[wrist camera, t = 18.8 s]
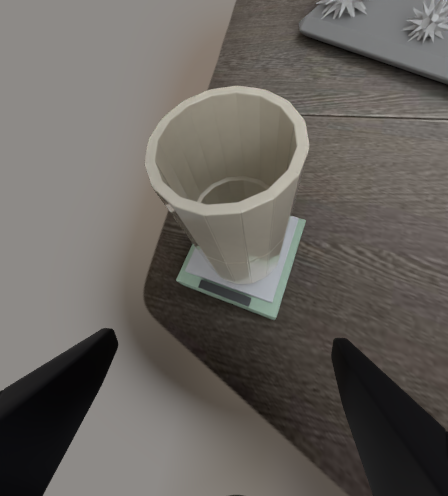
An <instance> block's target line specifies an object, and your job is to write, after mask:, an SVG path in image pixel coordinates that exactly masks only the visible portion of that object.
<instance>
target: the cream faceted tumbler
mask: <svg viewBox="0 0 448 496" xmlns="http://www.w3.org/2000/svg"><path fill="white" fill-rule="evenodd" d="M309 147H310V146H309V140H308V134H307V128H306V122H305V120H304V119H303V118H302V116H301V115H300V114H299V113H298V111H297V110H296V109H295V108H294V107H293V105H292V104H291V103H290V102H289V101H288V100H286V99H284V98H282V97H280V96H278V95H276V94H274V93H272V92H270V91H268V90H265V89H259V88H252V87H245V86H231V87H224V88H217V89H210V90H207V91H205V92H203V93H200V94H198V95H196V96H193V97H191V98H189V99H186V100H185V101H182V102H181V103H180V104H179V105H177V106H176V107H175V108H174V109H173V110H171V111H170V112H169V113H168V114H166V115H165V116H164V117H163V118H162V119H161V121H160V122H159V124H158V125H157V127H156V128H155V130H154V132H153V133H152V135H151V136H150V138H149V140H148V144H147V151H146V157H145V168H146V171H147V174H148V176H149V180H150V182H151V185H152V188H153V189H154V190H155V192H156V193H157V195H158V196H159V197H160V199H161V200H162V201H163V203H164V204H165V206H166V207H167V208H168V210H169V211H170V213H171V214H172V215H173V217H174V218H175V220H176V221H177V222H178V224H179V225H180V226H181V228H182V229H183V231H184V232H185V233H186V235H187V236H188V238H189V239H190V240H191V242H192V243H193V244H194V246H195V247H196V249H197V250H198V251H199V253H200V254H201V255H202V257H203V258H204V260H205V261H206V262H207V264H208V265H209V267H210V268H211V269H212V270H213V271H214V272H215V273H216V274H217V275H218V276H219V277H220V278H222V279H224V280H227V281H229V282H232V283H236V284H249V283H254V282H256V281H258V280H261V279H263V278H265V277H267V276H268V275H269V274H270V273H271V272H272V271H273V270H274V269H275V268H276V266H277V265H278V262H279V259H280V257H281V254H282V250H283V247H284V243H285V239H286V235H287V231H288V228H289V224H290V220H291V216H292V213H293V209H294V205H295V201H296V197H297V194H298V190H299V186H300V182H301V178H302V175H303V171H304V167H305V163H306V159H307V156H308V152H309Z"/></svg>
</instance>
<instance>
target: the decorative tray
mask: <svg viewBox="0 0 448 496" xmlns="http://www.w3.org/2000/svg"><path fill="white" fill-rule="evenodd" d="M316 4H319V5H318V6H317V7H316V8H315V9H313V10H312V11H311V12H310V13H309V14H308V15H307V16H305V17H304V18H303V19H302V20H301V21H300V22H299V28H300V32H301V33H302V34H303V35H304V36H307V37H310V38H313V39H316V40H319V41H322V42H325V43H328V44H331V45H334V46H337V47H340V48H342V49H345V50H348V51H351V52H354V53H357V54H360V55H363V56H366V57H369V58H372V59H375V60H378V61H381V62H383V63H386V64H389V65H392V66H395V67H398V68H401V69H404V70H407V71H410V72H413V73H416V74H419V75H421V76H424V77H427V78H430V79H433V80H436V81H439V82H442V83H445V84H448V0H321V1H319V2H317V3H316Z"/></svg>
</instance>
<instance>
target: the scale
mask: <svg viewBox="0 0 448 496" xmlns="http://www.w3.org/2000/svg"><path fill="white" fill-rule="evenodd" d="M305 222H306V220H303V219H300V218H297V217H294V216H291V220H290V224H289V228H288V231H287V235H286V239H285V243H284V247H283V250H282V254H281V257H280V259H279V262H278V265H277V266H276V268H275V269H274V270H273V271H272V272H271V273H270V274H269V275H268V276H267V277H265V278H263V279H261V280H258V281H256V282H254V283H249V284H236V283H232V282H229V281H227V280H224V279H222V278H220V277H219V276H218V275H217V274H216V273H215V272H214V271H213V270H212V269H211V268H210V267H209V265H208V264H207V262H206V261H205V260H204V258H203V257H202V255H201V254H200V253H199V251H198V250H197V249H196V247H195V246H194V244H192V246H191V248H190V251H189V253H188V255H187V257H186V259H185V262H184V264H183V266H182V268H181V270H180V272H179V275H178V277H177V279H176V281H178V282H179V283H181V284H182V285H184V286H186V287H189V288H192V289H194V290H197V291H199V292H202V293H205V294H207V295H210V296H212V297H215V298H218V299H220V300H223V301H225V302H228V303H231V304H233V305H236V306H238V307H241V308H244V309H246V310H249V311H251V312H254V313H257V314H259V315H262V316H264V317H267V318H270V319H272V320H275V319H276V317H277V313H278V310H279V307H280V304H281V300H282V297H283V294H284V290H285V287H286V284H287V281H288V277H289V274H290V271H291V268H292V264H293V261H294V258H295V255H296V251H297V248H298V245H299V241H300V238H301V235H302V232H303V228H304V225H305Z"/></svg>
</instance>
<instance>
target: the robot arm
mask: <svg viewBox="0 0 448 496" xmlns="http://www.w3.org/2000/svg"><path fill="white" fill-rule="evenodd" d="M117 348H118V341H117V338H116V335H115V332H114V330H113V329H109V328H104V329H101V330H99V331H98V332H96V333H95V334H93V335H91V336H90V337H88V338H86V339H85V340H83V341H81V342H80V343H78V344H77V345H75V346H73V347H72V348H70V349H69V350H67V351H65V352H64V353H62V354H60V355H59V356H57V357H55V358H54V359H52V360H51V361H49V362H47V363H46V364H44V365H42V366H41V367H39V368H37V369H36V370H34V371H33V372H31V373H29V374H28V375H26V376H24V377H23V378H21V379H20V380H18V381H16V382H15V383H13V384H11V385H10V386H8V387H6V388H5V389H4V390H2V391H0V496H43V494H44V492H45V490H46V488H47V486H48V485H49V483H50V481H51V479H52V477H53V475H54V473H55V472H56V470H57V468H58V466H59V464H60V462H61V460H62V458H63V457H64V455H65V453H66V451H67V449H68V447H69V445H70V444H71V442H72V440H73V438H74V436H75V434H76V432H77V430H78V428H79V427H80V425H81V423H82V421H83V419H84V417H85V415H86V414H87V412H88V410H89V408H90V406H91V404H92V402H93V400H94V399H95V397H96V395H97V393H98V391H99V389H100V387H101V385H102V383H103V381H104V378H105V377H106V374H107V372H108V369H109V367H110V365H111V362H112V360H113V358H114V355H115V353H116V351H117ZM331 357H332V363H333V367H334V371H335V376H336V380H337V384H338V389H339V393H340V397H341V401H342V405H343V408H344V411H345V414H346V417H347V420H348V423H349V426H350V429H351V432H352V435H353V438H354V441H355V443H356V446H357V449H358V452H359V455H360V458H361V461H362V464H363V467H364V470H365V473H366V476H367V478H368V481H369V484H370V487H371V490H372V493H373V496H448V432H446V430H445V428H444V427H442V426H441V425H440V424H439V423H438V422H437V421H436V420H435V419H434V418H433V417H432V416H431V415H429V414H428V413H427V412H426V411H425V410H424V409H423V408H422V407H421V406H420V405H419V404H417V403H416V402H415V401H414V400H413V399H412V398H411V397H410V396H409V395H408V394H407V393H405V392H404V391H403V390H402V389H401V388H400V387H399V386H398V385H397V384H396V383H395V382H393V381H392V380H391V379H390V378H389V377H388V376H387V375H386V374H385V373H384V372H383V371H381V370H380V369H379V368H378V367H377V366H376V365H375V364H374V363H373V362H372V361H371V360H369V359H368V358H367V357H366V356H365V355H364V354H363V353H362V352H361V351H360V350H359V349H358V348H356V347H355V346H354V345H353V344H352V343H351V342H350V341H349V340H348V339H346V338H335V339H334V341H333V347H332V354H331Z"/></svg>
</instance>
